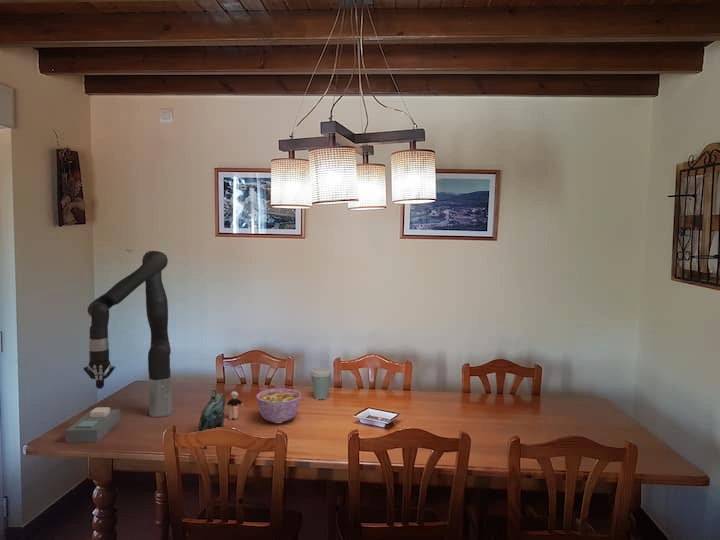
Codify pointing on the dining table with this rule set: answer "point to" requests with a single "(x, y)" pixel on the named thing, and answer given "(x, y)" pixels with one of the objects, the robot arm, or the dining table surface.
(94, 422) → the teal key
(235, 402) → the grandmother figurine
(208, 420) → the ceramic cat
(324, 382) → the disposable coffee cup
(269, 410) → the bowl of food
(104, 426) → the key box
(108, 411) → the cream key
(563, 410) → the dining table surface
